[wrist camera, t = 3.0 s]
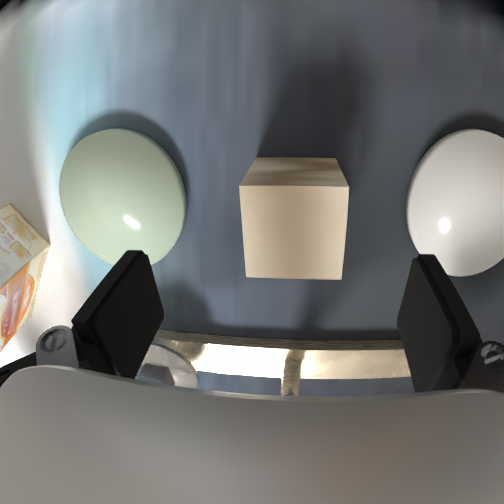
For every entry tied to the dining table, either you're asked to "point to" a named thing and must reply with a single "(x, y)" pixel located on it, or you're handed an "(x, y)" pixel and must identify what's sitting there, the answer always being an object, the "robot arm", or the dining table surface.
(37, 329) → the dining table surface
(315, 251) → the birch block
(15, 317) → the coffeecake box
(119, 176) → the sage dish
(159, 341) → the balance scale
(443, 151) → the white dish
